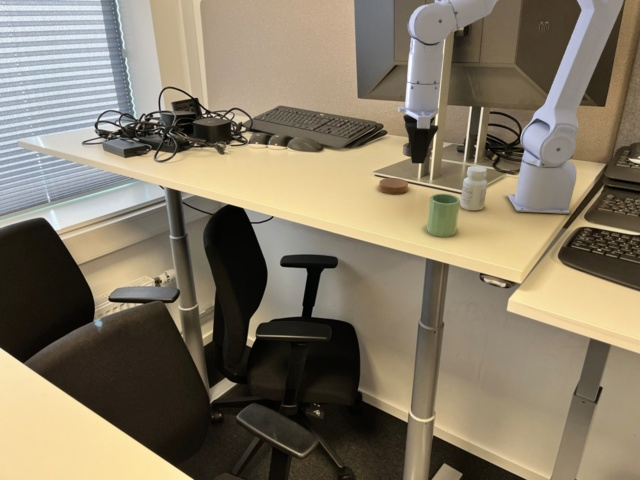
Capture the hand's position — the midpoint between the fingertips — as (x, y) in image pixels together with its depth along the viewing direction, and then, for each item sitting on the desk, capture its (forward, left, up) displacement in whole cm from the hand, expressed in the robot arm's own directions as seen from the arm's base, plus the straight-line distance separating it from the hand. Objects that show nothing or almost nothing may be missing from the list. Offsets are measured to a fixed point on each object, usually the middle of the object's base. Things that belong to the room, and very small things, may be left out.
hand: (416, 158), depth 87 cm
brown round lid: (0, 0, +1) cm, 1 cm away
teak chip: (+4, -9, -10) cm, 14 cm away
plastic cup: (-4, +11, -10) cm, 15 cm away
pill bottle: (-11, -1, -10) cm, 15 cm away
